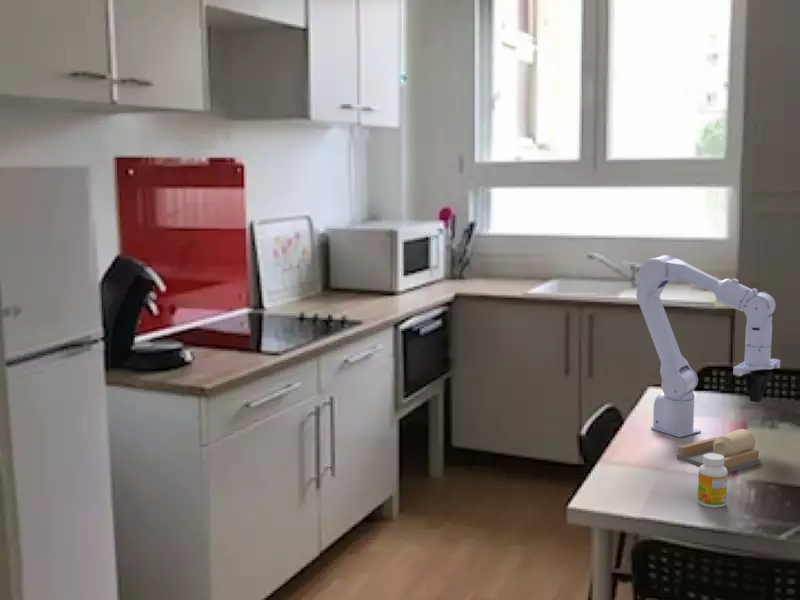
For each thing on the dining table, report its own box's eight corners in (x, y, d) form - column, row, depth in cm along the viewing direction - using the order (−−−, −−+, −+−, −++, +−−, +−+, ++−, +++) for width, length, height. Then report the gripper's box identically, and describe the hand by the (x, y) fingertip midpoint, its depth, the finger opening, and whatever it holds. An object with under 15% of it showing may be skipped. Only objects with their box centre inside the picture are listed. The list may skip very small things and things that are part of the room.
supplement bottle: (693, 498, 186) (694, 452, 184) (719, 497, 186) (721, 451, 185) (704, 508, 181) (706, 461, 179) (730, 507, 181) (732, 460, 180)
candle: (759, 449, 209) (735, 459, 202) (738, 454, 213) (714, 464, 207) (750, 426, 210) (725, 435, 204) (730, 431, 214) (705, 440, 208)
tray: (676, 458, 211) (676, 446, 210) (712, 448, 217) (712, 436, 217) (723, 474, 200) (724, 461, 199) (760, 463, 206) (760, 451, 206)
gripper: (752, 351, 209) (749, 409, 212) (792, 344, 217) (789, 400, 219) (726, 346, 215) (724, 402, 217) (766, 339, 223) (764, 393, 225)
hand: (755, 401), depth 219 cm, fingers closed
